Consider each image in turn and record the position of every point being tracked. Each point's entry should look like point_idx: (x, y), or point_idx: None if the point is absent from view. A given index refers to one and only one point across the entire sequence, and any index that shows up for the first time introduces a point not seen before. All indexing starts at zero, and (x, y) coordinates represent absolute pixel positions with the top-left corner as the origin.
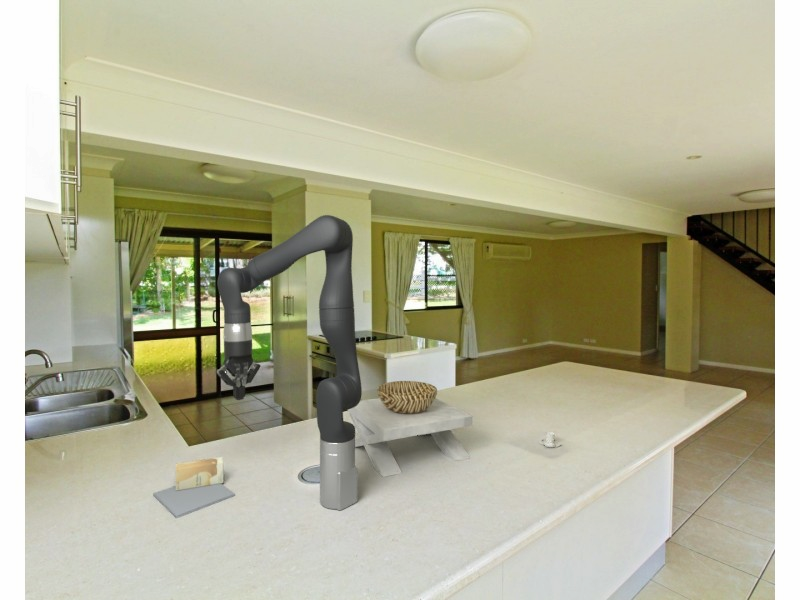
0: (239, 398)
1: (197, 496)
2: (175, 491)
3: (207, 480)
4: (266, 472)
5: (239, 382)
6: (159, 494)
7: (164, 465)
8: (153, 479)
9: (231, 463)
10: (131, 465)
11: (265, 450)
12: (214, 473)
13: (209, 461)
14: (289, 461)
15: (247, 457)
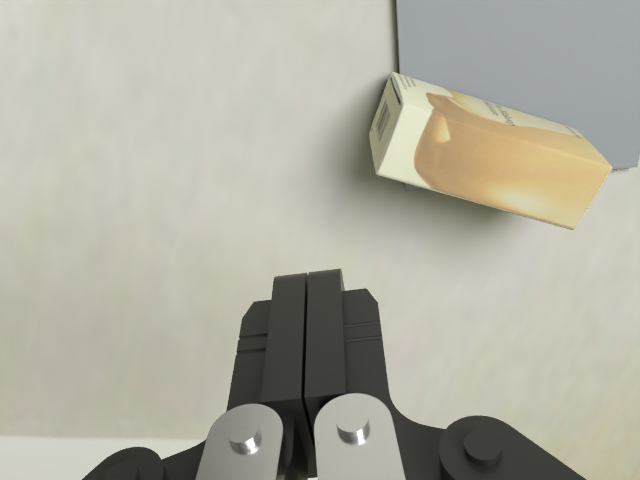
0: (334, 275)
1: (533, 13)
2: (573, 125)
3: (460, 98)
4: (178, 68)
5: (335, 467)
6: (628, 139)
7: (486, 365)
8: (565, 286)
9: (283, 247)
10: (563, 417)
11: (119, 280)
12: (436, 98)
13: (452, 158)
14: (43, 112)
15: (208, 262)
